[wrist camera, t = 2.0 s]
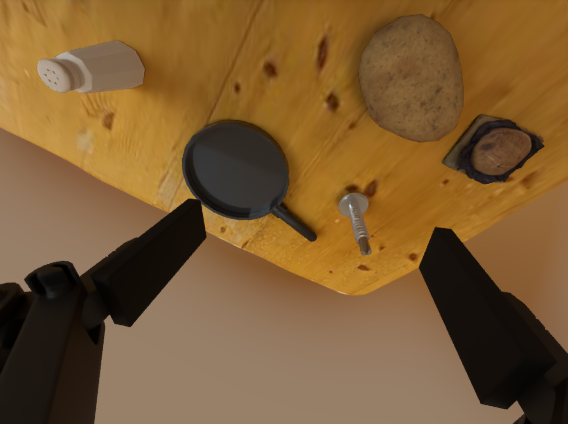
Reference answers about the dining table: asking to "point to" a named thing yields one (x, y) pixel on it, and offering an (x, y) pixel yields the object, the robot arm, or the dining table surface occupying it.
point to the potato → (413, 79)
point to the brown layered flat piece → (493, 150)
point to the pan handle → (292, 221)
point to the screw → (356, 218)
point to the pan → (236, 169)
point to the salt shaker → (93, 69)
